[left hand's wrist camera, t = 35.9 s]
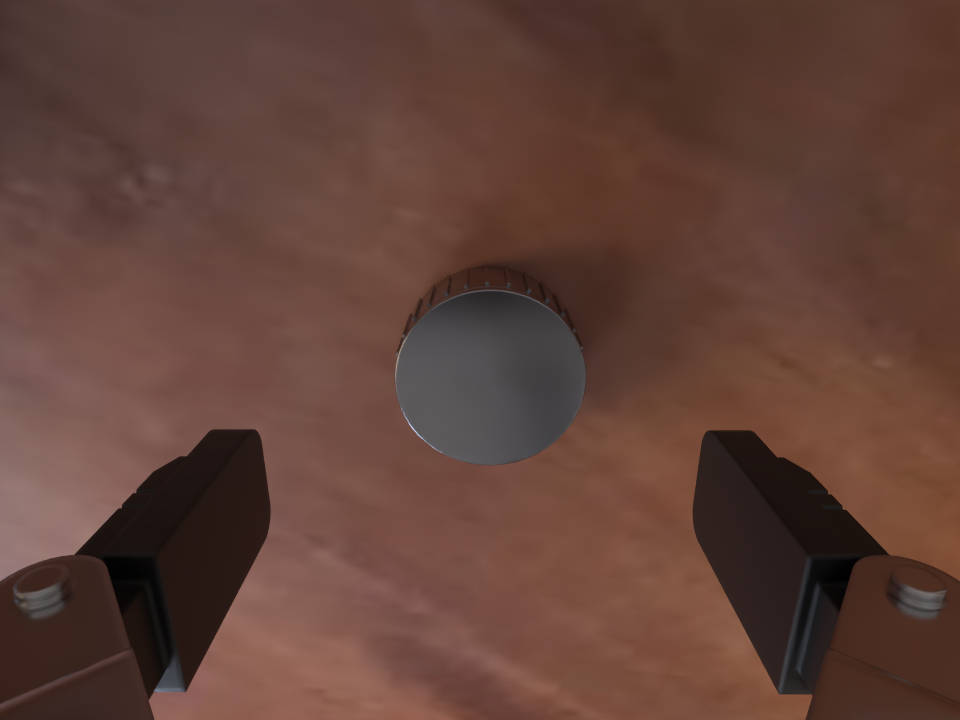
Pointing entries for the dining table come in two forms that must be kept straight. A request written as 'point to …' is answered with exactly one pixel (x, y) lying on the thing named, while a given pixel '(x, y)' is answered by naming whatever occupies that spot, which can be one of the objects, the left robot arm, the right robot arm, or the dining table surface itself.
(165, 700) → the dining table surface
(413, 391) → the cap
